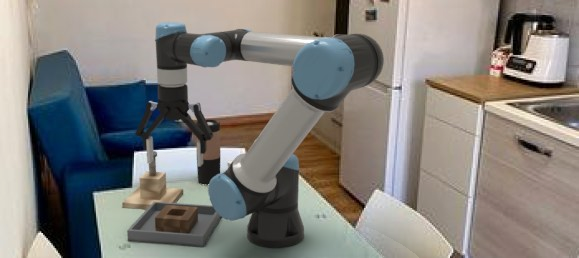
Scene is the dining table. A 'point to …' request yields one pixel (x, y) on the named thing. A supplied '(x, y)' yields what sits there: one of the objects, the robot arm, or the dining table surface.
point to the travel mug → (210, 154)
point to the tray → (146, 232)
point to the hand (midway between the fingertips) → (175, 163)
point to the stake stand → (152, 189)
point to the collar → (176, 219)
